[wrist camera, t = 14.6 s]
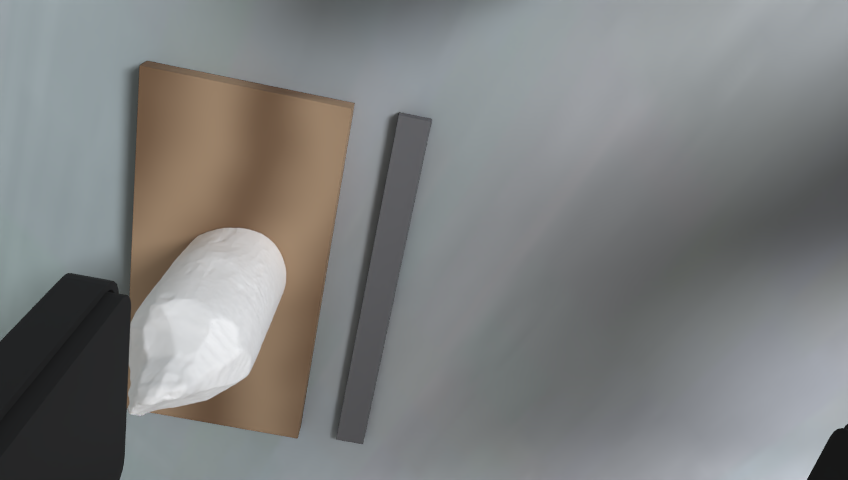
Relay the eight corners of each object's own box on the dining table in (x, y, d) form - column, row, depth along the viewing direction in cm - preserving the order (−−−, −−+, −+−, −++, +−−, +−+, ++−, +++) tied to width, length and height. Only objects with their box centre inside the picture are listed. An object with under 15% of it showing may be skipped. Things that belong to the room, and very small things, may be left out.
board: (354, 103, 37) (352, 108, 36) (300, 427, 46) (297, 438, 45) (147, 60, 37) (139, 65, 36) (131, 397, 45) (124, 407, 44)
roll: (156, 499, 31) (44, 412, 29) (231, 338, 42) (153, 267, 40) (259, 424, 29) (147, 326, 28) (310, 276, 40) (233, 199, 38)
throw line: (431, 118, 37) (431, 121, 37) (363, 438, 46) (362, 444, 45) (399, 112, 37) (398, 115, 37) (337, 433, 46) (336, 439, 45)
